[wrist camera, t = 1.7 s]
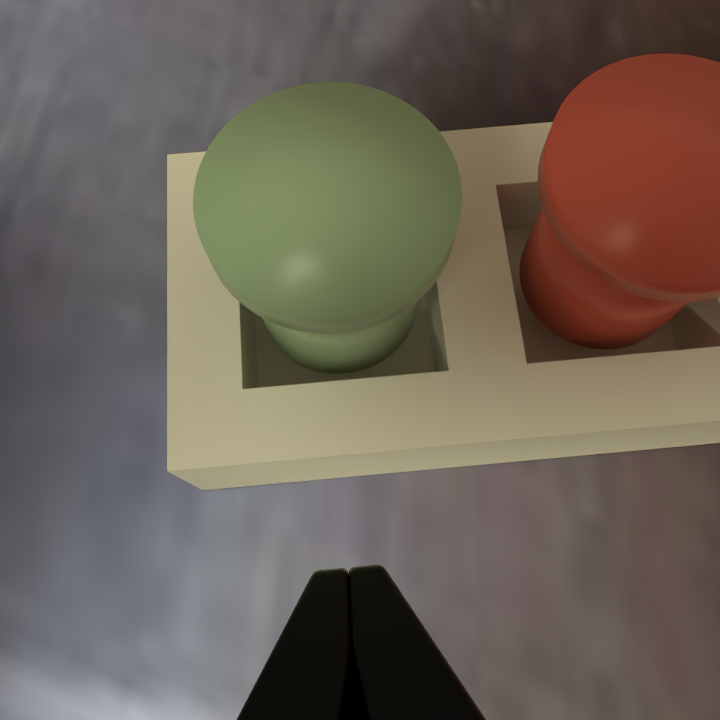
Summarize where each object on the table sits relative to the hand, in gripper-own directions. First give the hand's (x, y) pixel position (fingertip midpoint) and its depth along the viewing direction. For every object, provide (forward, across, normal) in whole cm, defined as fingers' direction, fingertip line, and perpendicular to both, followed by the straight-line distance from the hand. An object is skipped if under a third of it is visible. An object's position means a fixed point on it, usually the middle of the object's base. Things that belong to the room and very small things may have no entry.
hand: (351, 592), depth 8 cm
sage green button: (+13, 0, +1) cm, 13 cm away
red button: (+13, -8, +1) cm, 16 cm away
